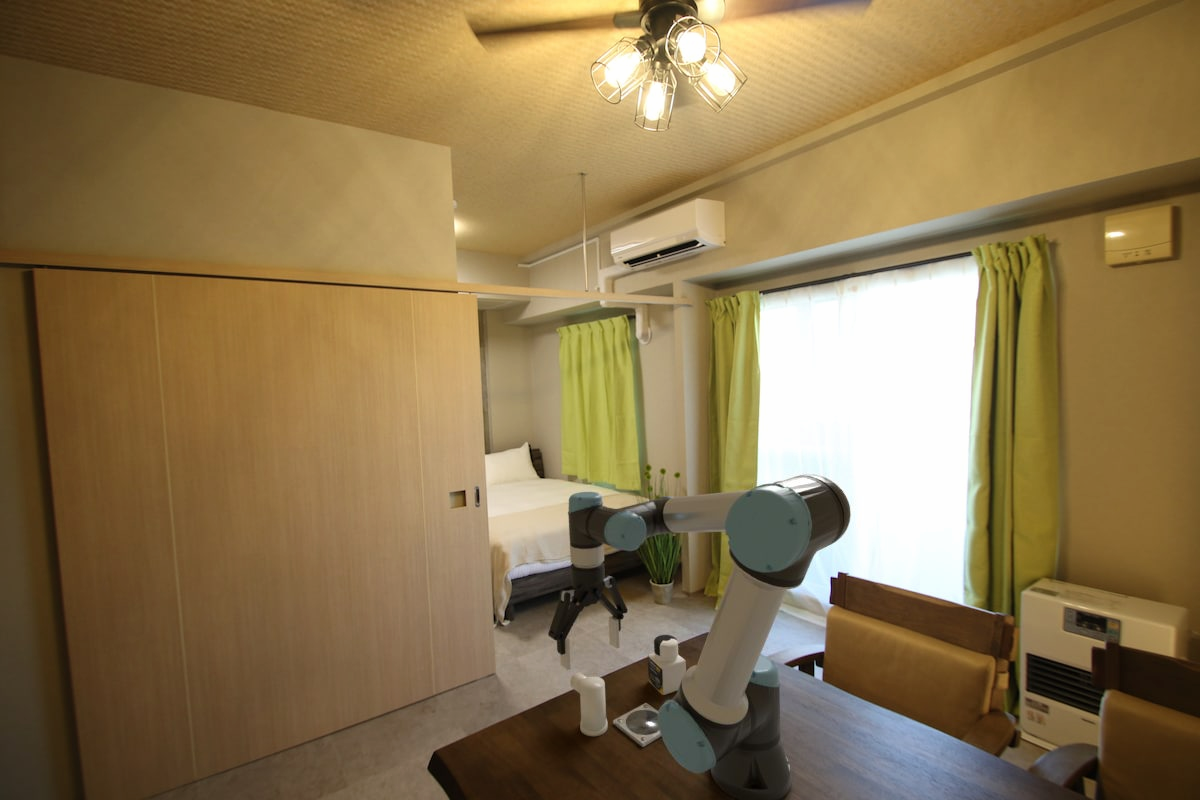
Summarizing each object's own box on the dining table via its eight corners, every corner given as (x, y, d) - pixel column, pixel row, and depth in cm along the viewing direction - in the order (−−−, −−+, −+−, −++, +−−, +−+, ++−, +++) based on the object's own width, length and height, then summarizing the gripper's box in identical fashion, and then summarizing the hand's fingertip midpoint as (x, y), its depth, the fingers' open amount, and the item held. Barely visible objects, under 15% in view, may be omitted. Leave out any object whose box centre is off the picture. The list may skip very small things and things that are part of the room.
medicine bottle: (648, 681, 135) (646, 635, 135) (671, 674, 138) (670, 629, 138) (662, 696, 129) (661, 648, 128) (687, 688, 132) (685, 641, 131)
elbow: (613, 728, 118) (611, 684, 117) (591, 740, 114) (589, 695, 114) (588, 708, 125) (587, 667, 125) (566, 719, 122) (565, 676, 121)
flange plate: (676, 727, 117) (676, 723, 117) (642, 747, 111) (642, 743, 111) (646, 706, 125) (645, 702, 125) (613, 723, 119) (613, 719, 119)
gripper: (619, 546, 128) (622, 632, 128) (529, 572, 112) (533, 669, 113) (640, 553, 122) (643, 643, 122) (548, 582, 107) (552, 684, 107)
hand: (590, 656), depth 118 cm, fingers open, 13 cm apart
